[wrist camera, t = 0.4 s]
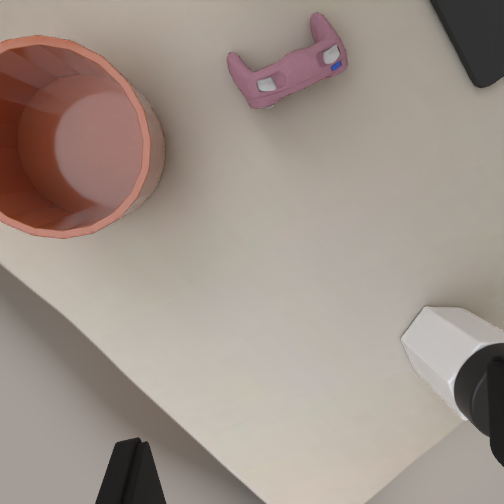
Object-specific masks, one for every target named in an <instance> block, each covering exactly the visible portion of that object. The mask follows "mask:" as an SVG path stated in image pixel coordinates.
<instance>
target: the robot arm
mask: <svg viewBox="0 0 504 504" xmlns="http://www.w3.org/2000/svg"><path fill="white" fill-rule="evenodd" d="M487 390H488V411H489V433H490V447H491V450H492V453H493V455H494V456H495V458H496V459H497V460H498V462H499V463H501V464H502V466H503V467H504V354H501V355H496V356H494V357H492V359H491V363H488V364H487ZM95 504H166V501H165V498H164V494H163V491H162V487H161V484H160V480H159V477H158V473H157V470H156V466H155V463H154V459H153V456H152V452H151V449H150V446H149V443H148V442H147V441H146V442H141V439H140V438H133V439H128V440H124V441H120V442H117V443H116V444H115V446H114V449H113V452H112V455H111V458H110V461H109V464H108V467H107V470H106V473H105V476H104V479H103V482H102V485H101V488H100V491H99V494H98V497H97V500H96V503H95Z"/></svg>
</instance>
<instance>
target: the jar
mask: <svg viewBox="0 0 504 504" xmlns="http://www.w3.org/2000/svg"><path fill="white" fill-rule="evenodd" d="M401 342H402V344H403V346H404V348H405V351H406V353H407V355H408V358H409V360H410V362H411V365H412V367H413V369H414V371H415V372H416V373H417V374H418V375H419V376H420V377H421V378H422V379H423V380H424V381H425V382H426V383H427V384H428V385H429V386H430V387H431V388H432V389H433V390H434V391H435V392H436V393H437V394H438V395H439V396H440V397H441V398H442V399H443V400H444V401H445V402H446V403H447V404H448V405H449V406H450V407H451V408H452V409H453V410H454V411H455V412H456V413H457V414H458V415H459V416H460V417H461V418H462V419H463V420H465V421H470V422H471V423H472V424H473V425H474V426H475V427H476V428H477V429H478V430H479V431H481V432H482V433H483V434H484V435H486V436H488V437H490V433H489V411H488V390H487V364H488V363H491V359H492V357H494V356H496V355H501V354H504V331H503V330H501V329H499V328H497V327H496V326H494V325H492V324H490V323H489V322H487V321H485V320H483V319H482V318H480V317H478V316H476V315H474V314H473V313H471V312H469V311H467V310H466V309H464V308H461V307H424V308H423V309H422V311H421V312H420V313H419V315H418V316H417V317H416V319H415V320H414V321H413V323H412V324H411V325H410V327H409V328H408V329H407V331H406V332H405V333H404V335H403V336H402V337H401Z"/></svg>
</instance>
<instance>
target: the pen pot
mask: <svg viewBox="0 0 504 504" xmlns="http://www.w3.org/2000/svg"><path fill="white" fill-rule="evenodd" d="M164 161H165V142H164V136H163V132H162V128H161V125H160V122H159V120H158V118H157V116H156V114H155V112H154V111H153V109H152V107H151V106H150V104H149V102H148V101H147V100H146V99H145V98H144V96H143V95H142V94H141V93H140V92H139V91H138V90H137V89H136V88H135V87H134V86H133V85H132V84H131V83H130V82H129V81H128V80H127V79H126V78H125V77H124V76H123V75H122V74H121V73H119V72H118V71H117V70H116V69H115V68H114V67H113V66H112V65H111V64H110V63H109V62H108V61H107V60H106V59H105V58H104V57H102V56H101V55H99V54H97V53H95V52H93V51H91V50H89V49H87V48H85V47H83V46H81V45H79V44H77V43H75V42H73V41H71V40H65V39H59V38H53V37H47V36H42V35H34V36H28V37H22V38H16V39H9V40H5V41H3V42H1V43H0V221H1V222H2V223H4V224H7V225H9V226H11V227H14V228H16V229H19V230H21V231H23V232H26V233H28V234H31V235H34V236H42V237H51V238H60V239H66V238H71V237H77V236H82V235H87V234H92V233H95V232H96V231H98V230H100V229H102V228H104V227H106V226H107V225H109V224H111V223H113V222H115V221H116V220H118V219H120V218H122V217H123V216H125V215H127V214H128V213H130V212H132V211H133V210H135V209H137V208H138V207H140V206H141V205H142V203H143V202H144V201H145V200H146V199H147V198H148V197H149V196H150V195H151V194H152V192H153V191H154V190H155V188H156V186H157V184H158V182H159V180H160V177H161V174H162V171H163V167H164Z"/></svg>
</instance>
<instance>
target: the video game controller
mask: <svg viewBox="0 0 504 504" xmlns="http://www.w3.org/2000/svg"><path fill="white" fill-rule="evenodd" d="M310 24H311V31H312V36H313V39H314V41H315V44H314V45H312V46H310V47H309V48H306V49H299V50H295V51H292V52H290V53H288V54H287V55H286V56H284V57H283V58H282V59H281V60H279V61H278V62H277V63H275V64H272V65H270V66H267V67H265V68H263V69H261V70H259V71H257V72H253V71H251V70H250V69H249V68H248V67H247V66H246V64H245V63H244V62H243V60H242V59H241V58H240V56H238V55H237V54H235V53H233V52H230V53H229V54H228V56H227V63H228V68H229V71H230V74H231V76H232V78H233V80H234V82H235V84H236V85H237V87H238V88H239V90H240V91H241V92H242V94H243V95H244V96H245V98H246V99H247V101H248V104H249V106H250V107H251V108H264V109H270V108H272V107H273V106H274V105H275V104H276V102H278V101H279V100H281V99H282V98H283V97H284V96H286V95H289V94H292V93H294V92H297V91H299V90H301V89H303V88H306V87H308V86H310V85H312V84H314V83H316V82H318V81H320V80H321V79H326V78H330V77H333V76H336V75H338V74H340V73H341V72H343V71H344V70H345V69H346V68H347V67H348V61H347V53H346V49H345V48H344V45H343V43H342V41H341V39H340V37H339V36H338V34H337V33H336V31H335V30H334V28H333V27H332V26H331V24H330V23H329V22H328V20H327V19H326V18H325V17H324V16H323V15H322V14H320V13H318V12H317V13H313V14H312V16H311V19H310Z"/></svg>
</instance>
